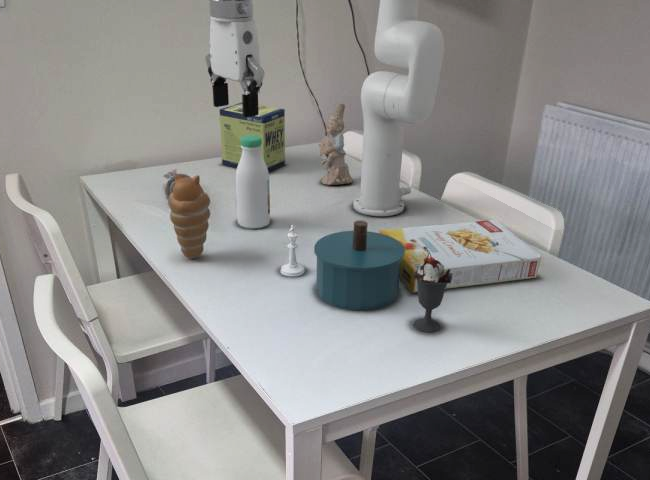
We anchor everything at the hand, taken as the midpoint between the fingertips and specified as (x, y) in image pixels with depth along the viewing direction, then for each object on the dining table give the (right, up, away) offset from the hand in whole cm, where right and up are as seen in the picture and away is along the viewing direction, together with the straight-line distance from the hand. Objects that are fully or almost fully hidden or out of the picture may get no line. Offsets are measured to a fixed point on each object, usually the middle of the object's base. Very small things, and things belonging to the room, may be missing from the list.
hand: (235, 110), depth 136 cm
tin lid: (+24, -26, +1) cm, 35 cm away
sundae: (+35, -41, -6) cm, 55 cm away
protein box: (-1, +11, +71) cm, 71 cm away
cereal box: (+45, -27, +15) cm, 55 cm away
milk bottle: (+1, -14, +34) cm, 37 cm away
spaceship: (-17, -7, +43) cm, 47 cm away
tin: (+23, -33, +5) cm, 41 cm away
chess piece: (+11, -29, +13) cm, 33 cm away
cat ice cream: (-11, -25, +18) cm, 33 cm away
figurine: (+22, +3, +59) cm, 63 cm away
